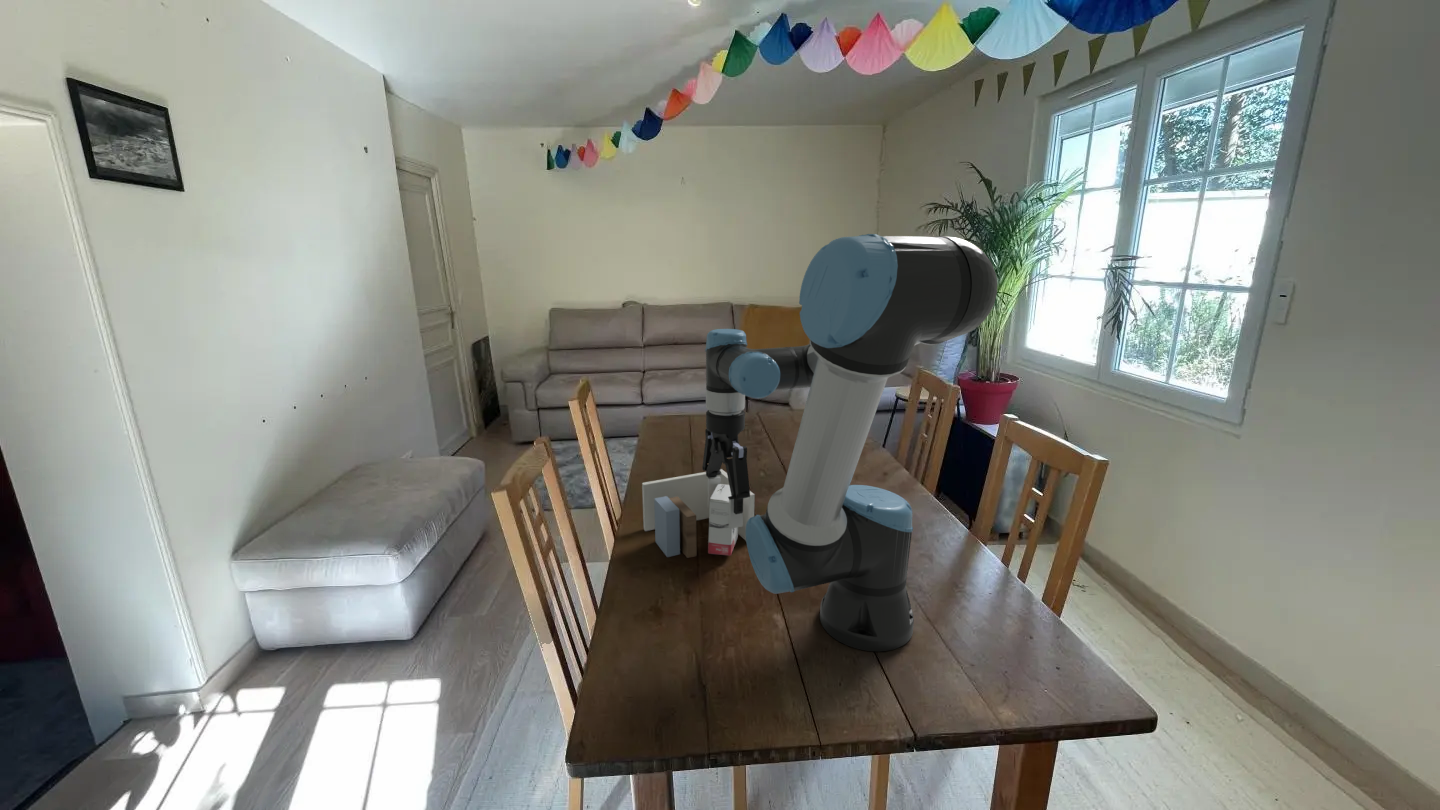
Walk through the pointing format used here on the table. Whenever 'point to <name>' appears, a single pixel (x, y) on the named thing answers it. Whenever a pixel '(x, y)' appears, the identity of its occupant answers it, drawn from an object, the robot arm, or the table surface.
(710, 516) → the ink box
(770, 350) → the robot arm
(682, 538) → the bookend
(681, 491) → the white corner wall
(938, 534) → the table surface
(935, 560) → the table surface
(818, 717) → the table surface
